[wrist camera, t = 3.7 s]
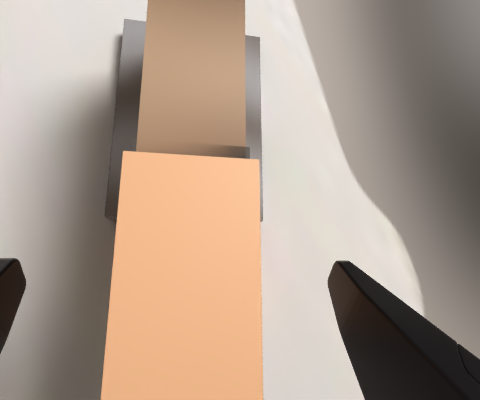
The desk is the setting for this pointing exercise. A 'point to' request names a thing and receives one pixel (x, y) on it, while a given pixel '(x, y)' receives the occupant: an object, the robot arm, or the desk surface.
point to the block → (185, 281)
